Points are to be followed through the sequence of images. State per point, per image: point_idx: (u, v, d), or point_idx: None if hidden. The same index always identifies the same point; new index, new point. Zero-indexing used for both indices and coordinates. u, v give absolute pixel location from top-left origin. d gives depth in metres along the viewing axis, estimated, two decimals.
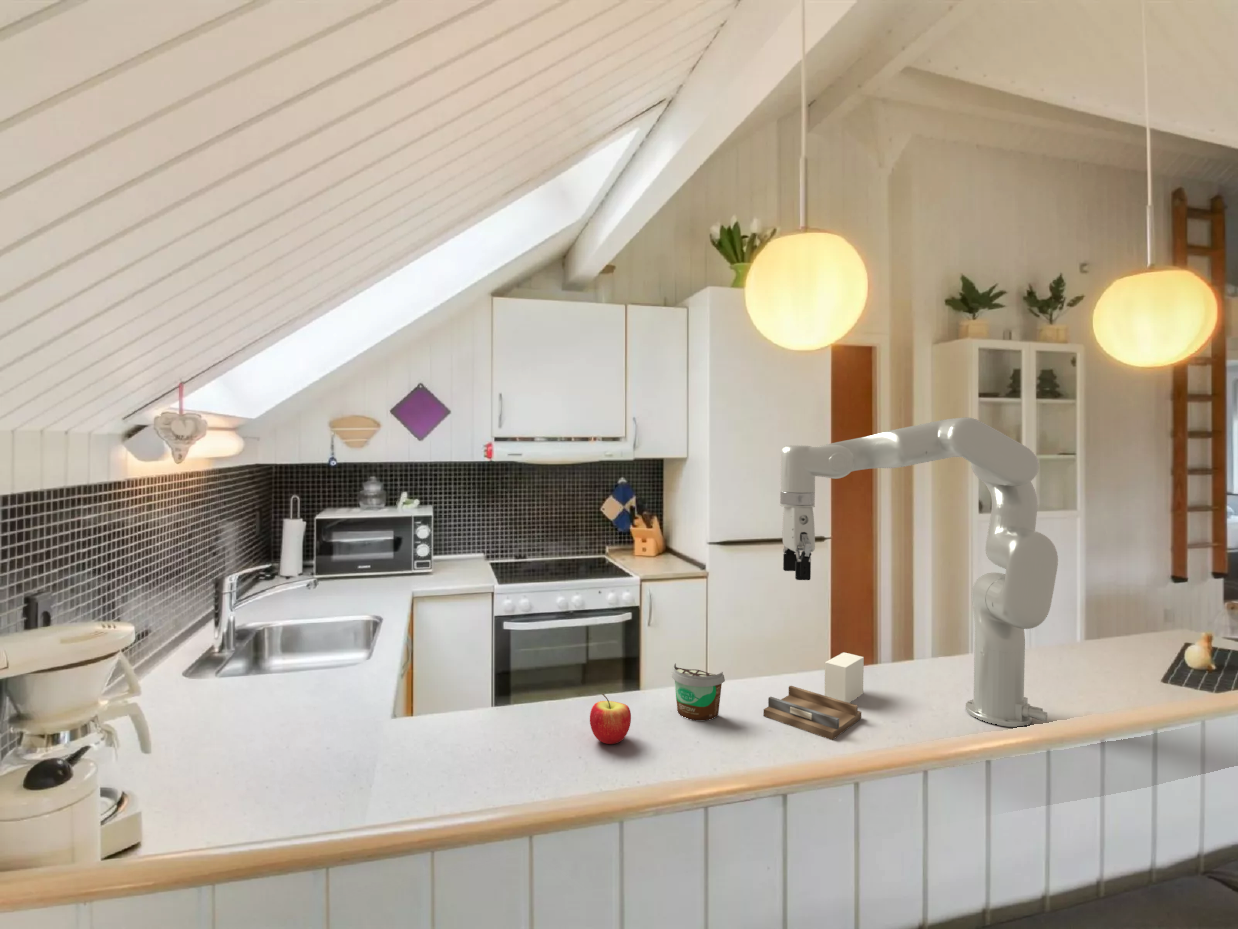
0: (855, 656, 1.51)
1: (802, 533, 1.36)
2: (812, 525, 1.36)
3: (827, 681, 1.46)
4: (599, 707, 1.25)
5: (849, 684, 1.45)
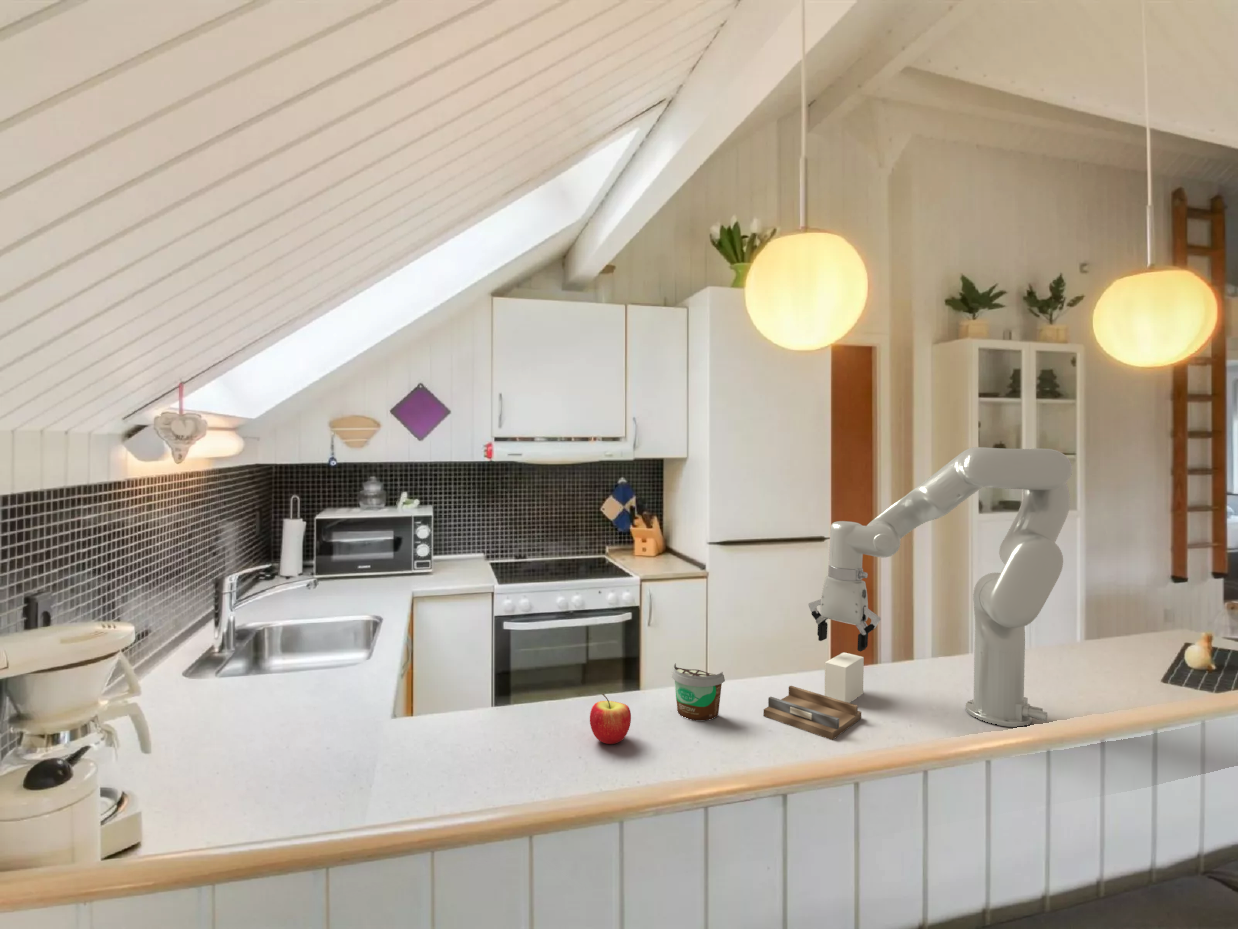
0: (855, 656, 1.51)
1: (864, 607, 1.44)
2: None
3: (827, 681, 1.46)
4: (599, 707, 1.25)
5: (849, 684, 1.45)
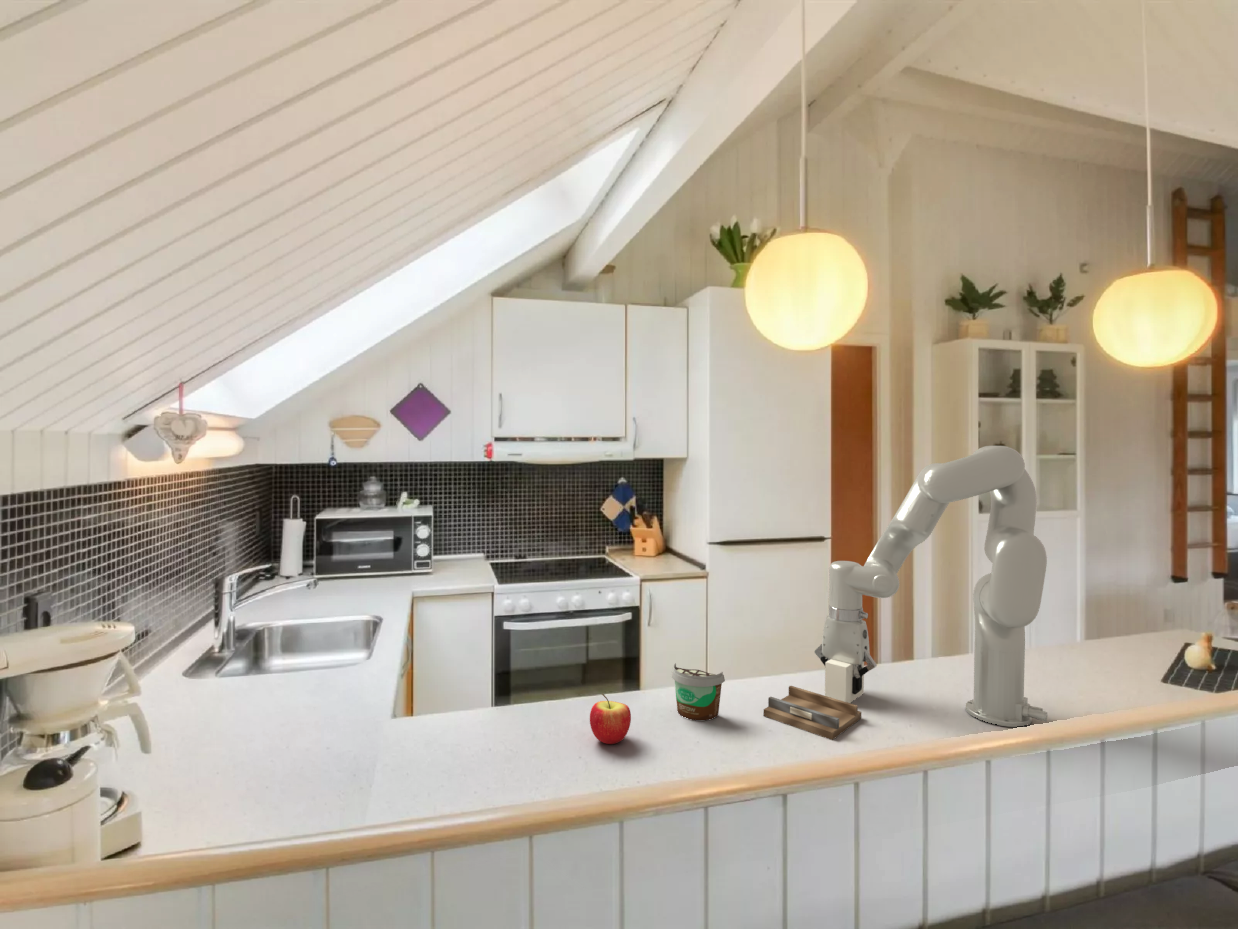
0: None
1: (864, 650, 1.45)
2: None
3: (828, 681, 1.46)
4: (599, 707, 1.25)
5: (850, 684, 1.45)
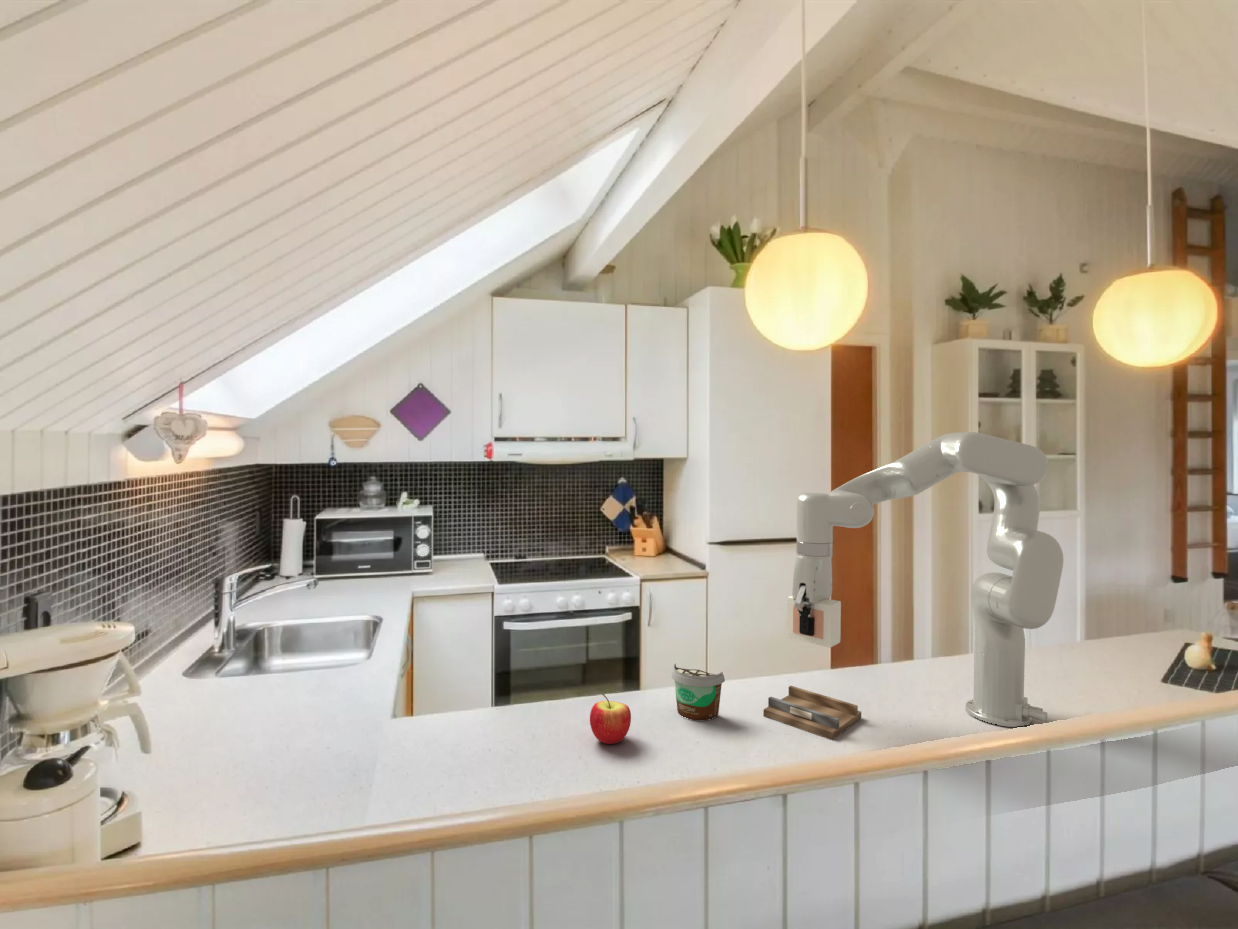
0: None
1: None
2: None
3: (831, 625, 1.32)
4: (599, 707, 1.25)
5: None
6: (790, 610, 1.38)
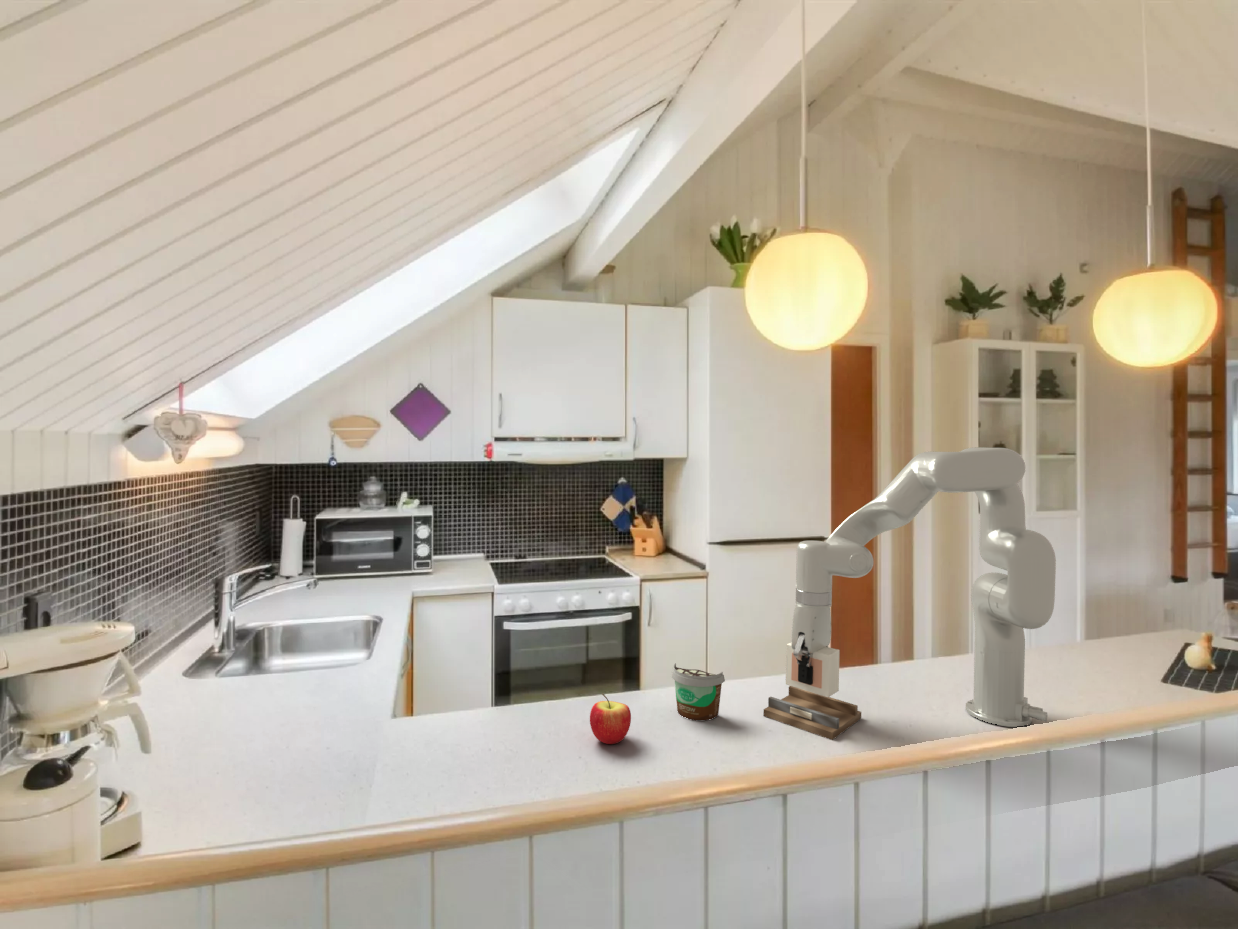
0: None
1: None
2: None
3: (830, 675, 1.32)
4: (599, 707, 1.25)
5: None
6: (789, 657, 1.38)
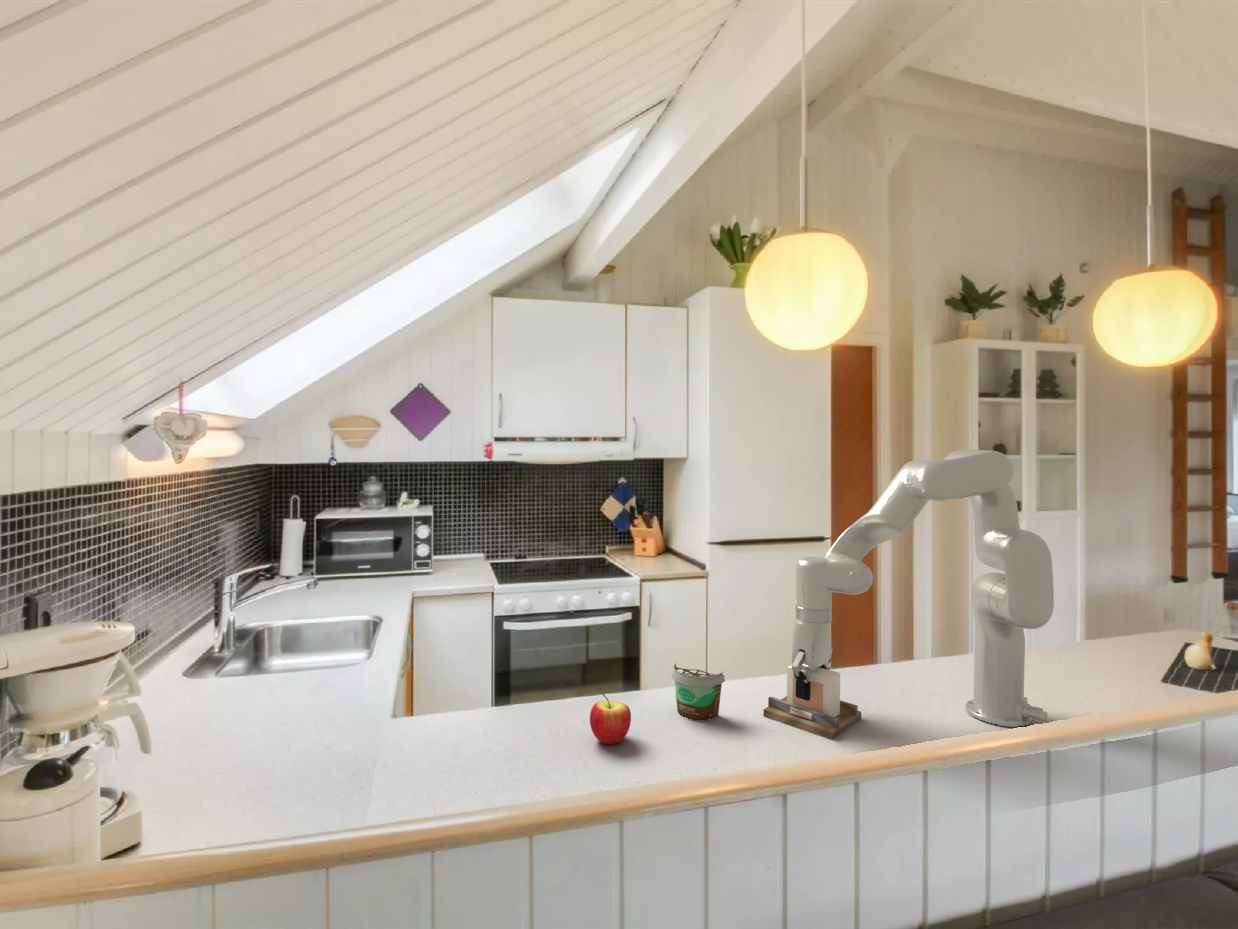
0: None
1: None
2: None
3: (831, 698, 1.33)
4: (599, 707, 1.25)
5: None
6: (790, 680, 1.38)
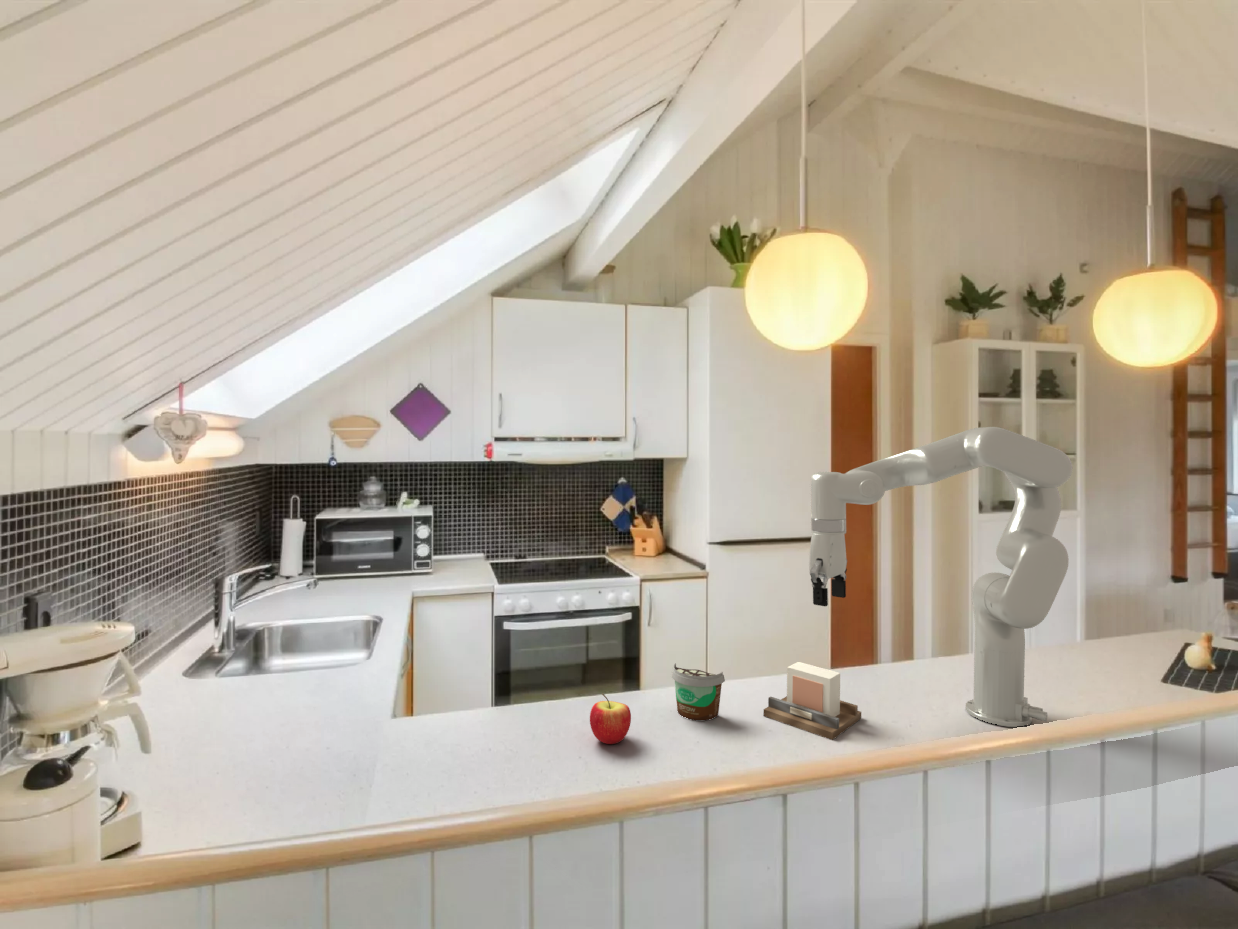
0: (798, 664, 1.41)
1: None
2: None
3: (831, 698, 1.33)
4: (599, 707, 1.25)
5: None
6: (790, 680, 1.38)
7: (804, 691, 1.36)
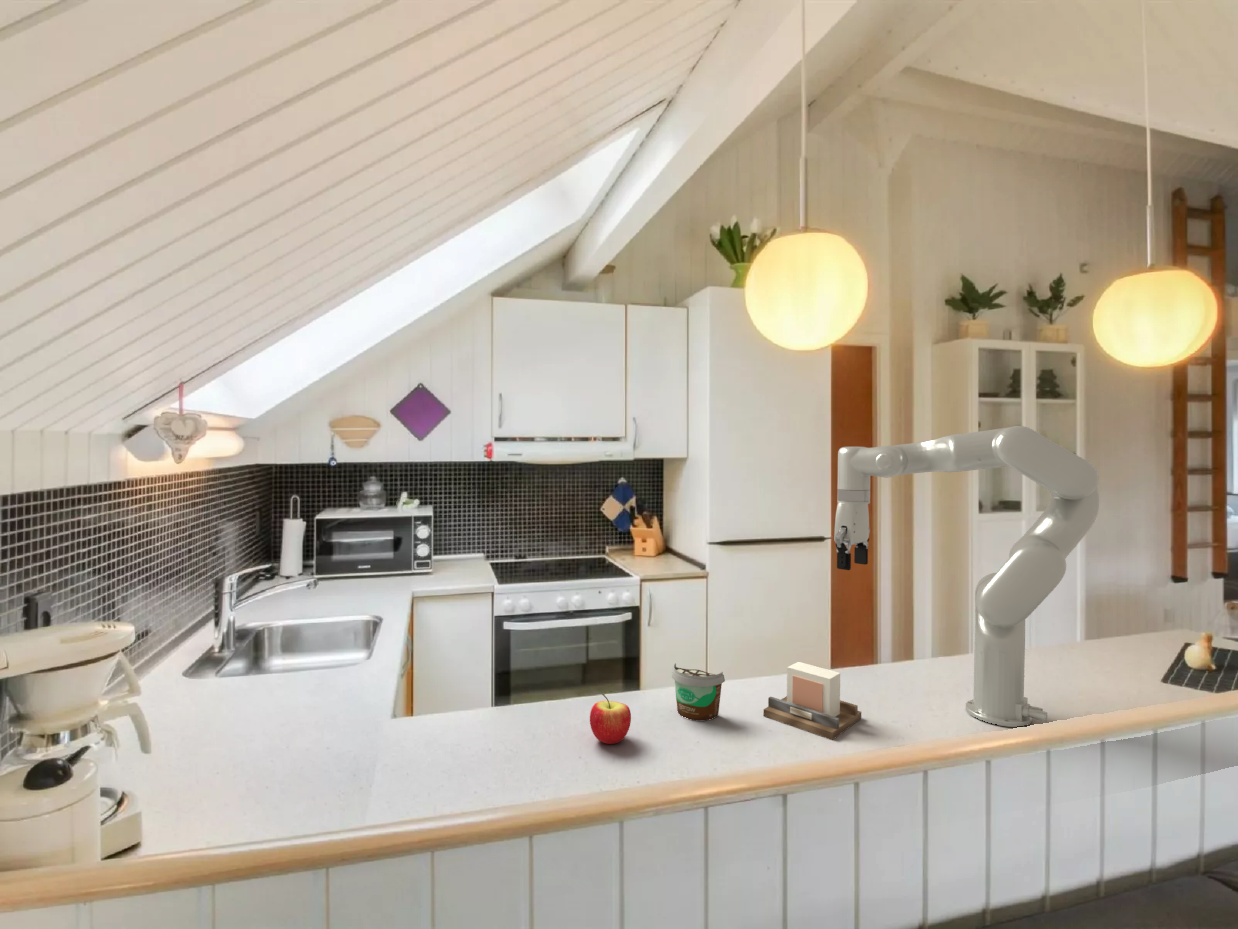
0: (798, 664, 1.41)
1: None
2: None
3: (831, 698, 1.33)
4: (599, 707, 1.25)
5: None
6: (790, 680, 1.38)
7: (804, 691, 1.36)
